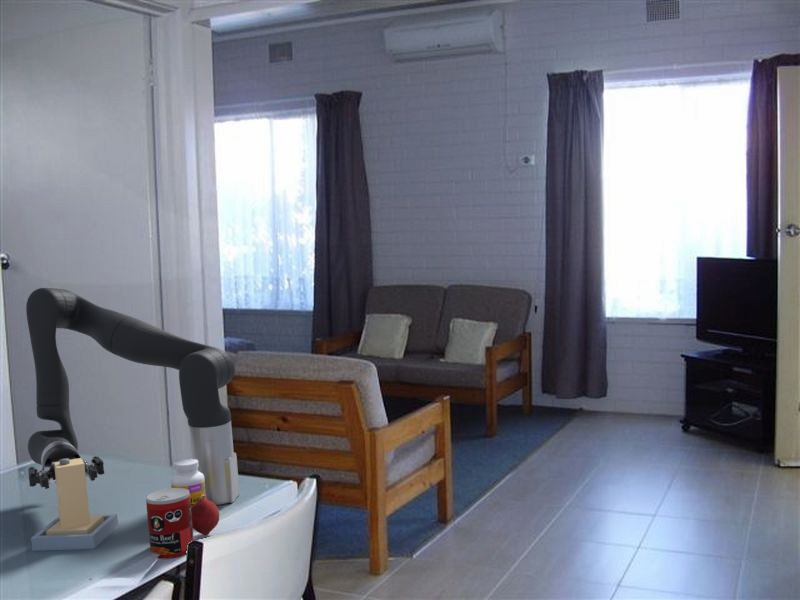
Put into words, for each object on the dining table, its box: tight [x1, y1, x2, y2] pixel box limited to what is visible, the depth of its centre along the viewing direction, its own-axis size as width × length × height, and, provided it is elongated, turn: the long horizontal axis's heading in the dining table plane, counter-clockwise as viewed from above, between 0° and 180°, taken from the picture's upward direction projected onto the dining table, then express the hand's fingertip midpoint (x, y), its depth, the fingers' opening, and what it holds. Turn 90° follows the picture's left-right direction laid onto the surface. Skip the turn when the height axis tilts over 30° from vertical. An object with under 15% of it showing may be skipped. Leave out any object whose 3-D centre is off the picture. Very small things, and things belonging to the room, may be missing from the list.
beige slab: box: [46, 514, 104, 536], centre depth 174 cm, size 8×8×3 cm
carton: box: [54, 457, 90, 529], centre depth 173 cm, size 5×5×13 cm
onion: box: [191, 495, 220, 536], centre depth 174 cm, size 6×6×8 cm
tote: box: [30, 513, 119, 552], centre depth 174 cm, size 12×12×4 cm
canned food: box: [145, 487, 194, 560], centre depth 166 cm, size 8×8×11 cm
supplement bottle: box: [170, 458, 206, 508], centre depth 181 cm, size 7×7×13 cm
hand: (70, 479), depth 175 cm, fingers open, 8 cm apart
